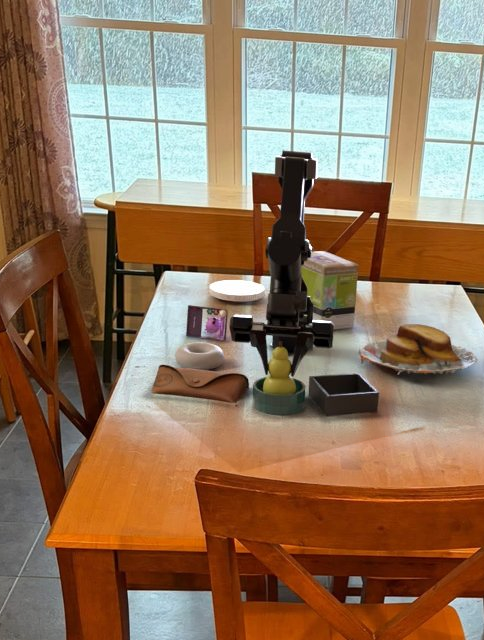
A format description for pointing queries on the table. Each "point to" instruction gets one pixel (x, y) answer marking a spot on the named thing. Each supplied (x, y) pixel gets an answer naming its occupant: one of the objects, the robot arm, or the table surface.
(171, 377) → the sunglasses case
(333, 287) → the tea box
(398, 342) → the food on plate
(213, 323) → the purple toy box
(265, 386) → the pear
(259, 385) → the bowl
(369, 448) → the table surface
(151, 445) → the table surface
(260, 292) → the plastic lid
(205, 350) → the donut
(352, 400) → the bin
